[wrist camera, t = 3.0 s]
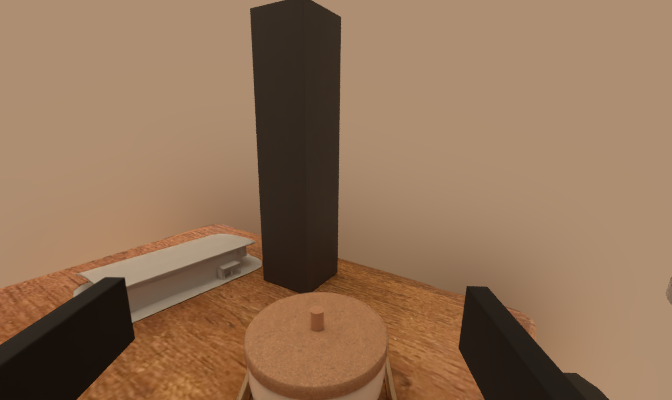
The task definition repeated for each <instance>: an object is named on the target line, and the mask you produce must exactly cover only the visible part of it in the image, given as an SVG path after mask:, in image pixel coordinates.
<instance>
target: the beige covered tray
mask: <svg viewBox="0 0 672 400" xmlns="http://www.w3.org/2000/svg"><path fill="white" fill-rule="evenodd" d="M254 243H256V241H253V240H250V239H248V238H244V237H240V236H236V235H231V234H214V235H210V236H207V237H203V238H200V239H196V240H193V241H189V242H186V243H182V244H179V245H175V246H172V247H168V248H165V249H161V250H158V251H154V252H151V253H148V254H144V255H141V256H137V257H134V258H130V259H127V260H123V261H120V262H116V263H113V264H109V265H106V266H102V267H99V268H95V269H92V270H89V271H85V272H82V273H78V274H76V275H78V276H82V277H84V278H86V279H87V280H89V281H90V282H88V283H85V284H83V285H81V286H79V287H78V288H77V289H76V290H74V294H73V297H75V296H77V295H78V294H80V293H81V292H83V291H84V290H86V289H87V288H89V287H90V286H92V285H94V284H95V283H97V282H98V281H100V280H101V279H103V278H104V277H125V281H126V287H127V294H128V300H129V306H130V312H131V318H132V323H134V322H136V321H138V320H141V319H143V318H145V317H148V316H150V315H152V314H155V313H157V312H159V311H162V310H164V309H166V308H169V307H171V306H173V305H176V304H178V303H180V302H183V301H185V300H187V299H190V298H192V297H194V296H197V295H199V294H201V293H204V292H206V291H208V290H211V289H213V288H215V287H218V286H220V285H222V284H225V283H227V282H229V281H232V280H234V279H236V278H239V277H241V276H243V275H246V274H248V273H250V272H253V271H255V270H257V269H258V268H260V267H261V266H262V261H260V260H259V259H258V258H256V257H253V256H251V255H249V254H247V253H246V246H248V245H251V244H254Z"/></svg>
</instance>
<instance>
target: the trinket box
mask: <svg viewBox="0 0 672 400" xmlns="http://www.w3.org/2000/svg"><path fill="white" fill-rule="evenodd" d="M388 345H389V335H388V331H387V327H386V325H385V323H384V321H383V320H382V319H381V317H380V316H379V314H378V313H377V312H376V311H374V310H373V309H372V308H371V307H370V306H368V305H367V304H365V303H363V302H361V301H360V300H357V299H355V298H352V297H349V296H346V295H342V294H337V293H329V292H310V293H302V294H297V295H293V296H289V297H286V298H283V299H281V300H278V301H276V302H274V303H272V304H271V305H269V306H267V307H266V308H264V309H263V310H262V311H261V312H260V313H259V314H258V315H257V316H256V317H255V318H254V319H253V320H252V322H251V323H250V325H249V326H248V328H247V331H246V333H245V337H244V356H245V360H246V364H247V372H248V380H249V385H250V389H251V393H252V396H253V400H378V398H379V396H380V392H381V388H382V384H383V379H384V375H385V366H386V358H387V354H388Z"/></svg>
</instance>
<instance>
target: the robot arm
mask: <svg viewBox="0 0 672 400" xmlns="http://www.w3.org/2000/svg"><path fill="white" fill-rule="evenodd" d="M134 339H135V336H134V330H133V324H132V318H131V312H130V306H129V300H128V294H127V287H126V281H125V277H104V278H103V279H101V280H100V281H98V282H97V283H95V284H94V285H92V286H90V287H89V288H87V289H86V290H84V291H83V292H81V293H80V294H78V295H77V296H75V297H74V298H72V299H70V300H69V301H67V302H66V303H64V304H63V305H61V306H60V307H58V308H57V309H55V310H54V311H52V312H50V313H49V314H47V315H46V316H44V317H43V318H41V319H40V320H38V321H37V322H35V323H33V324H32V325H30V326H29V327H27V328H26V329H24V330H23V331H21V332H20V333H18V334H17V335H15V336H13V337H12V338H10V339H9V340H7V341H6V342H4V343H3V344H1V345H0V400H77V399H78V397H79V396H80V395H81V394H82V393H83V392H84V391H85V390H86V389H87V388H88V387H89V386H90V385H91V384H92V383H93V382H94V381H95V380H96V379H97V378H98V377H99V376H100V375H101V374H102V373H103V371H104V370H105V369H106V368H107V367H108V366H109V365H110V364H111V363H112V362H113V361H114V360H115V359H116V358H117V357H118V356H119V355H120V354H121V353H122V352H123V351H124V350H125V349H126V348H127V347H128V345H129V344H130V343H131V342H132V341H133V340H134ZM459 350H460V352H461V354H462V356H463V358H464V360H465V362H466V364H467V366H468V368H469V370H470V371H471V373H472V375H473V377H474V379H475V381H476V383H477V385H478V387H479V389H480V391H481V393H482V395H483V397H484V399H485V400H609V399H608V398H607V397H606V396H605V395H604V394H603V393H602V392H601V391H600V390H599V389H598V388H597V387H595V386H594V385H592V384H591V383H589V382H588V381H586V380H585V379H584V378H582V377H581V376H580V375H578V374H577V373H563V372H562V371H561V370H560V369H559V368H558V367H557V366H556V365H555V363H554V362H553V361H552V360H551V359H550V358H549V357H548V356H547V354H546V353H545V352H544V351H543V350H542V349H541V347H539V345H538V344H537V343H536V342H535V341H534V340H533V338H532V337H531V336H530V335H529V334H528V333H527V332H526V330H525V329H524V328H523V327H522V326H521V325H520V324H519V322H518V321H517V320H516V319H515V318H514V317H513V316H512V314H511V313H510V312H509V311H508V310H507V309H506V308H505V307H504V305H502V303H501V302H500V301H499V300H498V299H497V298H496V296H495V295H494V294H493V293H492V292H491V291H490V289H489V288H488V287H475V286H467V289H466V296H465V304H464V312H463V319H462V327H461V334H460V342H459Z"/></svg>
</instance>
